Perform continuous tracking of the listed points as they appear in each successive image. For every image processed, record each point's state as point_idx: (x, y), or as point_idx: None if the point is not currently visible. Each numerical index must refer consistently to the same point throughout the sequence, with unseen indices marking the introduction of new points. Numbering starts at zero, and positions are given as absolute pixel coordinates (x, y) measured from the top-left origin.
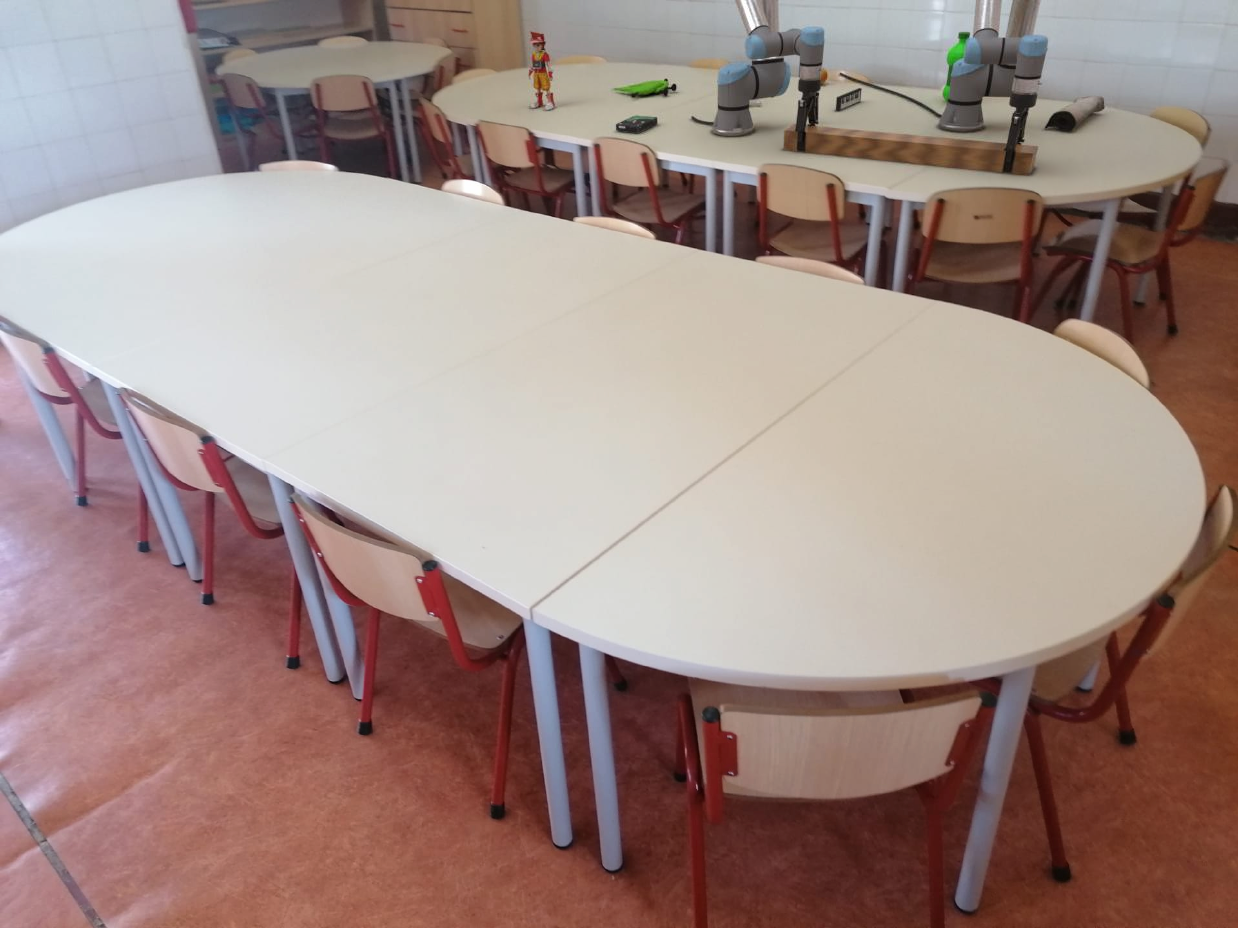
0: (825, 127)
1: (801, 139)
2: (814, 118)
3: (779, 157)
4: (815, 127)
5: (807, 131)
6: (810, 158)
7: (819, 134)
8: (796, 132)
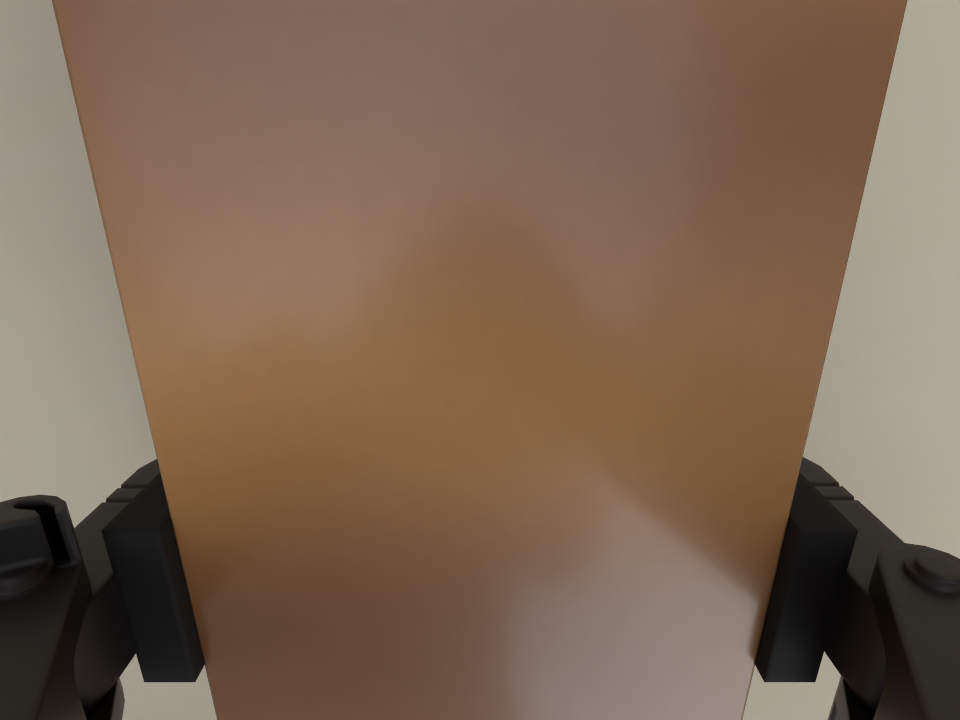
0: (141, 207)
1: (831, 486)
2: (33, 714)
3: (926, 544)
4: (276, 465)
5: (715, 513)
6: (941, 167)
7: (859, 135)
8: (735, 683)
